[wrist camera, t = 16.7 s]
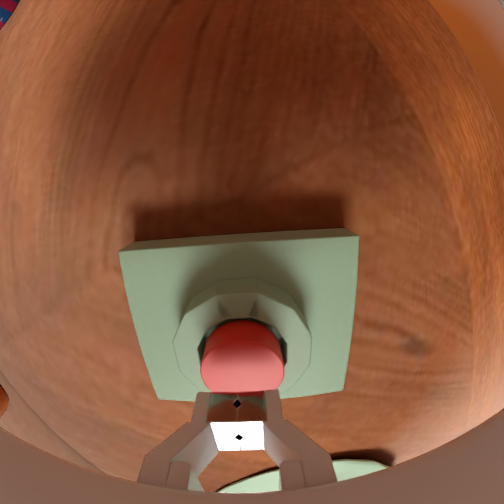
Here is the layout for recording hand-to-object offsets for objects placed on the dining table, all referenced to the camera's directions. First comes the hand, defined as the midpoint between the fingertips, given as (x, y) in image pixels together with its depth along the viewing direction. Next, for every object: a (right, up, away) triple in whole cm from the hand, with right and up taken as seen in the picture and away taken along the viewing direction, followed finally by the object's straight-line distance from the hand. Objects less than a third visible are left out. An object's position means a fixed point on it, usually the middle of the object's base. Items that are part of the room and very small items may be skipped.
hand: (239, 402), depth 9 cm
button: (0, +1, +3) cm, 3 cm away
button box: (0, +2, +7) cm, 7 cm away
